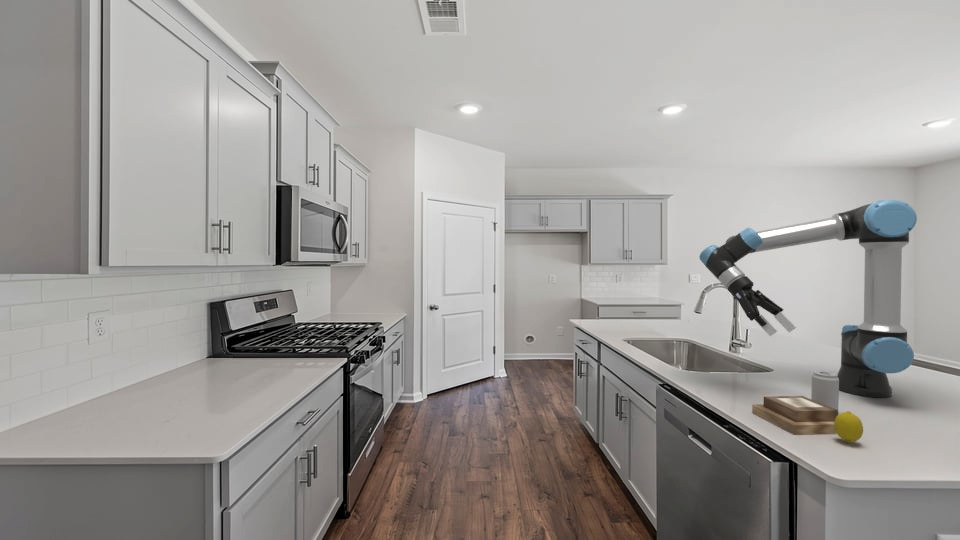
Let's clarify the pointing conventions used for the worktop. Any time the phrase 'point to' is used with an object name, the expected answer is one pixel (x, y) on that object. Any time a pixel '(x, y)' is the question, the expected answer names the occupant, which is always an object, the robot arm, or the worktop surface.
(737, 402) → the worktop surface
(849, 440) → the lemon
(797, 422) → the pedestal
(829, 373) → the beverage can
